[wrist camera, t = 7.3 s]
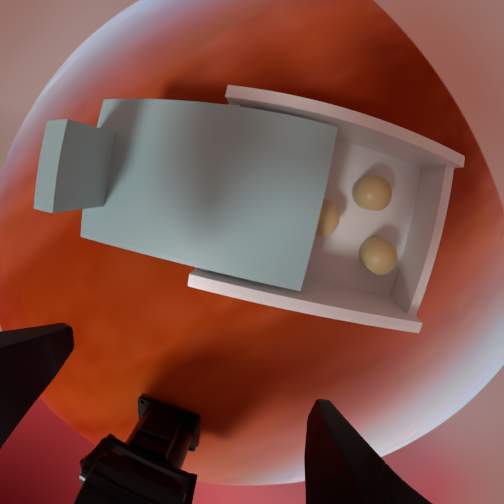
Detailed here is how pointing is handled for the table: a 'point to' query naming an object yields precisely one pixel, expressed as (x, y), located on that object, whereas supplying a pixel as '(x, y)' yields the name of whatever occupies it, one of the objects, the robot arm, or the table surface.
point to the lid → (193, 184)
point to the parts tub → (360, 220)
